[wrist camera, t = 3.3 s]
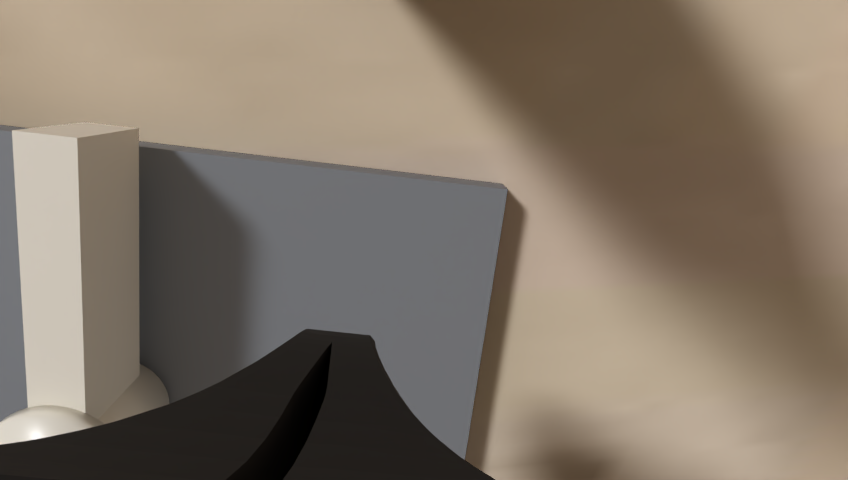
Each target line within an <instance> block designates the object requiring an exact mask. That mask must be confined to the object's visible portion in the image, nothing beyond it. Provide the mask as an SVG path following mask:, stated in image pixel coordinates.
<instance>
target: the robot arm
mask: <svg viewBox="0 0 848 480" xmlns="http://www.w3.org/2000/svg"><path fill="white" fill-rule="evenodd" d="M0 480H495V479H493V478H492V477H490V476H489V475H487V474H485V473H484V472H482V471H480V470H479V469H477V468H476V467H474V466H473V465H471V464H470V463H468V462H467V461H465V460H464V459H463V458H461V457H460V456H458V455H457V454H456V453H455V452H453V451H452V450H451V449H450V448H448V447H447V446H446V445H445V444H444V443H442V442H441V441H440V440H439V439H438V438H436V437H435V436H434V435H433V434H432V433H431V432H430V431H429V430H428V429H427V428H426V427H425V426H424V425H423V424H422V423H421V422H420V421H419V420H418V418H417V417H416V416H415V415H414V414H413V413H412V411H411V410H410V409H409V407H408V406H407V405H406V403H405V402H404V400H403V399H402V398H401V396H400V395H399V393H398V391H397V390H396V388H395V387H394V385H393V383H392V381H391V380H390V378H389V376H388V374H387V372H386V371H385V369H384V367H383V364H382V362H381V360H380V358H379V355H378V352H377V349H376V345H375V341H374V339H373V338H372V337H371V336H370V335H363V334H353V333H344V332H334V331H324V330H315V329H305V330H303V331H301V332H300V333H298V334H297V335H295V336H294V337H293V338H291V339H290V340H288V341H287V342H285V343H284V344H282V345H281V346H279V347H278V348H276V349H275V350H273V351H272V352H270V353H269V354H267V355H266V356H264V357H262V358H261V359H259V360H258V361H256V362H254V363H253V364H251V365H249V366H247V367H246V368H244V369H242V370H240V371H238V372H237V373H235V374H233V375H231V376H230V377H228V378H226V379H224V380H222V381H221V382H219V383H216V384H214V385H212V386H210V387H208V388H206V389H204V390H202V391H200V392H197V393H195V394H192V395H190V396H188V397H185V398H183V399H180V400H178V401H176V402H173V403H170V404H168V405H165V406H162V407H159V408H156V409H152V410H149V411H146V412H143V413H140V414H137V415H134V416H131V417H128V418H124V419H121V420H118V421H115V422H111V423H107V424H103V425H99V426H95V427H91V428H87V429H83V430H79V431H74V432H69V433H65V434H60V435H55V436H51V437H45V438H40V439H34V440H29V441H22V442H15V443H9V444H2V445H0Z"/></svg>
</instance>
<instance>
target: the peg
mask: <svg viewBox="0 0 848 480" xmlns="http://www.w3.org/2000/svg"><path fill="white" fill-rule="evenodd" d="M12 142H13V159H14V177H15V194H16V211H17V229H18V246H19V263H20V280H21V298H22V315H23V332H24V350H25V367H26V384H27V401H28V408H25V409H22V410H19V411H17V412H15V413H13V414H11V415H9V416H8V417H6V418H5V419H3V420H2V421H1V422H0V445H2V444H9V443H15V442H22V441H29V440H34V439H40V438H45V437H51V436H55V435H60V434H65V433H69V432H74V431H79V430H83V429H87V428H91V427H95V426H99V425H103V424H107V423H111V422H115V421H118V420H121V419H124V418H128V417H131V416H134V415H137V414H140V413H143V412H146V411H149V410H152V409H156V408H159V407H162V406H165V405H168V404H169V397H168V393H167V390H166V388H165V386H164V384H163V383H162V381H161V380H160V378H159V377H158V376H157V375H156V374H155V373H154V372H152V371H151V370H150V369H148V368H147V367H145V366H143V365H141V364H140V348H139V128H133V127H124V126H116V125H108V124H99V123H91V122H81V123H72V124H63V125H54V126H46V127H37V128H28V129H20V130H12Z"/></svg>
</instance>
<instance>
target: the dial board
mask: <svg viewBox="0 0 848 480" xmlns="http://www.w3.org/2000/svg"><path fill="white" fill-rule="evenodd" d="M20 129H28V128H21V127H13V126H4V125H0V422H1V421H2V420H3V419H5V418H6V417H8V416H9V415H11V414H13V413H15V412H17V411H19V410H22V409H25V408H28V401H27V384H26V367H25V350H24V332H23V315H22V298H21V280H20V263H19V246H18V229H17V211H16V194H15V177H14V159H13V142H12V130H20ZM507 191H508V189H507V188H506V187H505V186H504V185H503V184H499V183H491V182H482V181H474V180H465V179H457V178H448V177H440V176H431V175H423V174H414V173H405V172H397V171H388V170H380V169H371V168H363V167H354V166H346V165H337V164H329V163H320V162H312V161H303V160H295V159H286V158H277V157H269V156H260V155H252V154H243V153H235V152H226V151H218V150H209V149H201V148H192V147H184V146H175V145H166V144H158V143H149V142H141V141H139V348H140V364H141V365H143V366H145V367H147V368H148V369H150V370H151V371H152V372H154V373H155V374H156V375H157V376H158V377H159V378H160V380H161V381H162V383H163V384H164V386H165V388H166V390H167V393H168V397H169V404H170V403H173V402H176V401H178V400H180V399H183V398H185V397H188V396H190V395H192V394H195V393H197V392H200V391H202V390H204V389H206V388H208V387H210V386H212V385H214V384H216V383H219V382H221V381H222V380H224V379H226V378H228V377H230V376H231V375H233V374H235V373H237V372H238V371H240V370H242V369H244V368H246V367H247V366H249V365H251V364H253V363H254V362H256V361H258V360H259V359H261V358H262V357H264V356H266V355H267V354H269V353H270V352H272V351H273V350H275V349H276V348H278V347H279V346H281V345H282V344H284V343H285V342H287V341H288V340H290V339H291V338H293V337H294V336H295V335H297V334H298V333H300V332H301V331H303V330H305V329H315V330H324V331H334V332H344V333H353V334H363V335H370V336H371V337H372V338H373V339H374V341H375V345H376V349H377V352H378V355H379V358H380V360H381V362H382V364H383V367H384V369H385V371H386V372H387V374H388V376H389V378H390V380H391V381H392V383H393V385H394V387H395V388H396V390H397V391H398V393H399V395H400V396H401V398H402V399H403V400H404V402H405V403H406V405H407V406H408V407H409V409H410V410H411V411H412V413H413V414H414V415H415V416H416V417H417V418H418V420H419V421H420V422H421V423H422V424H423V425H424V426H425V427H426V428H427V429H428V430H429V431H430V432H431V433H432V434H433V435H434V436H435V437H436V438H438V439H439V440H440V441H441V442H442V443H444V444H445V445H446V446H447V447H448V448H450V449H451V450H452V451H453V452H455V453H456V454H457V455H458V456H460V457H461V458H463V459H464V460H465V455H466V449H467V443H468V436H469V430H470V424H471V417H472V411H473V405H474V399H475V392H476V386H477V380H478V373H479V367H480V361H481V355H482V348H483V342H484V336H485V329H486V323H487V317H488V310H489V304H490V298H491V292H492V285H493V279H494V273H495V266H496V260H497V254H498V247H499V241H500V235H501V229H502V222H503V216H504V210H505V203H506V197H507Z"/></svg>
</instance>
